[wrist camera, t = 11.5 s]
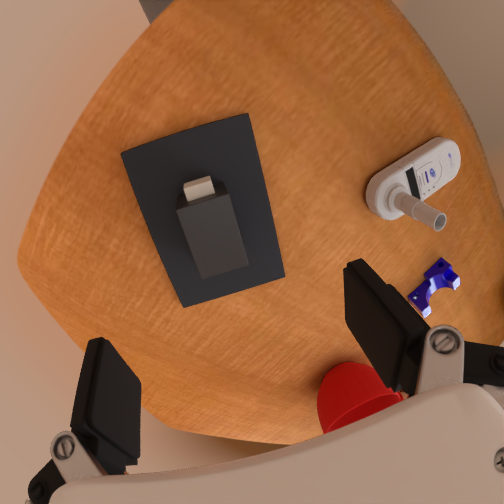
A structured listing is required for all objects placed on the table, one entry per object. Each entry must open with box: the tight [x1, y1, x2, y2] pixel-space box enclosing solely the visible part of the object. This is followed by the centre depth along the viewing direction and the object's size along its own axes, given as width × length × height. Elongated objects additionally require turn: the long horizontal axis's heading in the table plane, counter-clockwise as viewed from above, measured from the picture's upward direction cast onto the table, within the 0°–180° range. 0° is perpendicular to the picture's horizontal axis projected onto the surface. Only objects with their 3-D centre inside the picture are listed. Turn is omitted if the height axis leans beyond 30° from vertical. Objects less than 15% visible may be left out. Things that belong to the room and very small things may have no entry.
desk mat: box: [121, 113, 285, 308], centre depth 29 cm, size 18×12×1 cm, turn 13°
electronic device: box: [366, 137, 461, 231], centre depth 27 cm, size 5×10×15 cm
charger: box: [176, 176, 249, 279], centre depth 27 cm, size 8×4×4 cm, turn 13°
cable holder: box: [408, 258, 460, 318], centre depth 39 cm, size 8×4×4 cm, turn 129°
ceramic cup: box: [317, 362, 404, 434], centre depth 42 cm, size 13×17×10 cm
